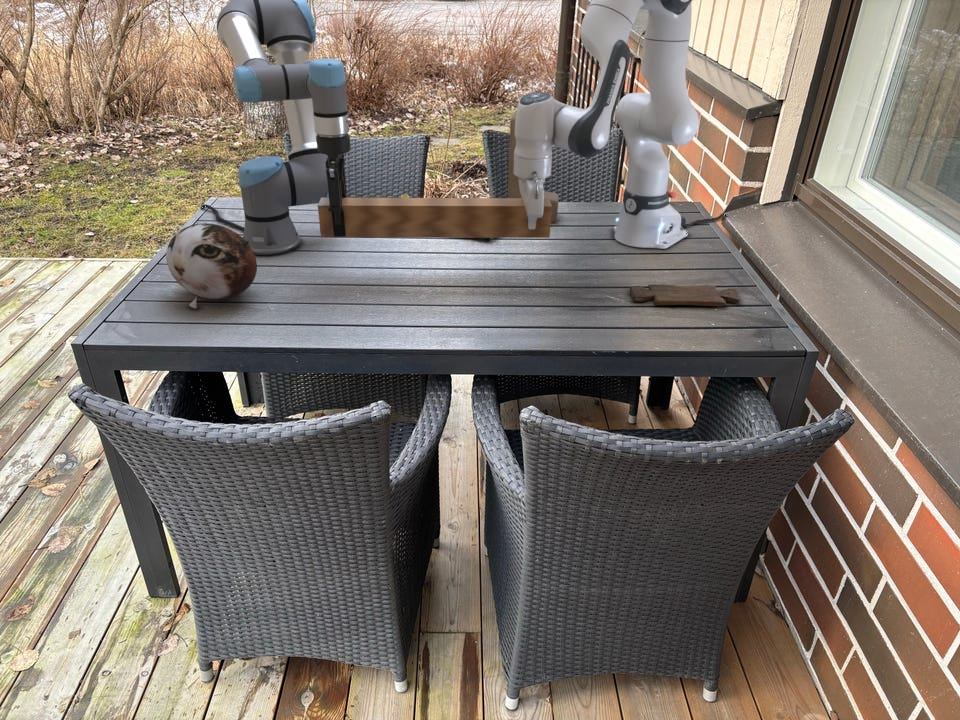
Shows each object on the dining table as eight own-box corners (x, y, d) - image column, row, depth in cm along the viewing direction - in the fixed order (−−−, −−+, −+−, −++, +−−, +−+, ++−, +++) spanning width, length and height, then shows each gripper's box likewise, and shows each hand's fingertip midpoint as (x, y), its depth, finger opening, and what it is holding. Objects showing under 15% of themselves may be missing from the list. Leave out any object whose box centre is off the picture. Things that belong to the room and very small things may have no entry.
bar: (320, 237, 171) (317, 205, 167) (324, 229, 176) (321, 197, 171) (549, 237, 173) (551, 206, 169) (546, 229, 178) (548, 198, 174)
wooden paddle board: (744, 309, 167) (732, 291, 176) (746, 303, 166) (734, 285, 175) (634, 305, 167) (627, 287, 176) (635, 299, 167) (628, 281, 175)
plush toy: (130, 285, 161) (164, 203, 163) (192, 308, 177) (221, 233, 178) (195, 307, 151) (229, 220, 152) (254, 330, 166) (285, 250, 168)
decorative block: (556, 223, 215) (563, 120, 199) (506, 220, 216) (510, 118, 201) (557, 215, 221) (564, 114, 206) (509, 212, 223) (512, 112, 207)
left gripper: (344, 144, 153) (353, 245, 165) (353, 124, 169) (360, 217, 181) (309, 144, 153) (320, 246, 165) (321, 123, 169) (330, 217, 181)
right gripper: (551, 179, 158) (548, 238, 166) (540, 154, 176) (538, 209, 183) (523, 180, 158) (521, 239, 165) (515, 155, 176) (513, 209, 183)
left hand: (341, 231), depth 173 cm, fingers closed on bar, 6 cm apart
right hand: (529, 223), depth 174 cm, fingers closed on bar, 5 cm apart
